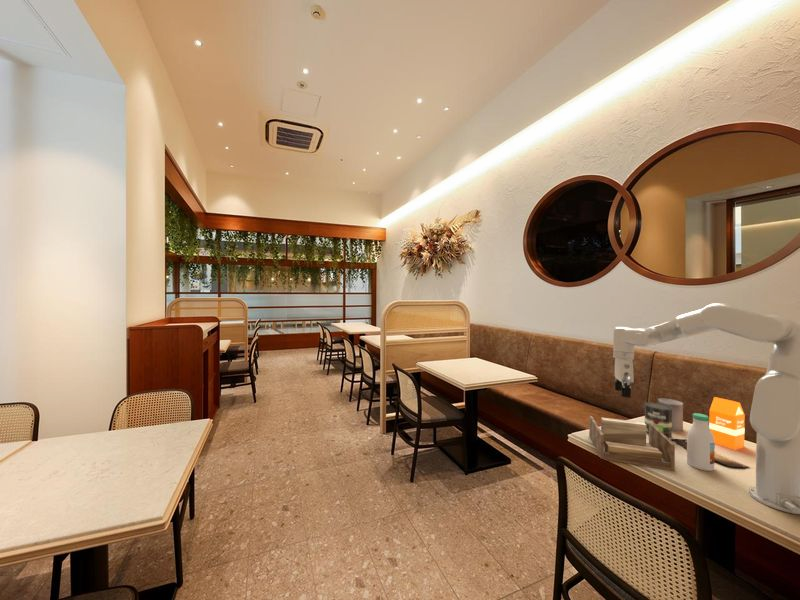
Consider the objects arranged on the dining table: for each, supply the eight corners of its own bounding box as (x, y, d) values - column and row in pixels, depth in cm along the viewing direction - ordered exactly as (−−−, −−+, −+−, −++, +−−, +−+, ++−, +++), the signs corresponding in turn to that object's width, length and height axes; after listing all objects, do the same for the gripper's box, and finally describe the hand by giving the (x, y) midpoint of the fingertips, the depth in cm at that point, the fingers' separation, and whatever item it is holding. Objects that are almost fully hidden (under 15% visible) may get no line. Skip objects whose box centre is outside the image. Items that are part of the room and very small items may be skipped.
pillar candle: (660, 423, 164) (660, 394, 164) (685, 429, 157) (685, 399, 157) (655, 427, 158) (655, 398, 158) (680, 434, 151) (680, 403, 151)
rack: (674, 471, 118) (674, 444, 118) (600, 459, 127) (600, 434, 127) (651, 445, 139) (651, 423, 139) (589, 436, 148) (589, 415, 147)
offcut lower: (661, 463, 122) (661, 458, 122) (607, 455, 128) (607, 450, 128) (656, 457, 126) (656, 452, 126) (604, 450, 133) (604, 445, 133)
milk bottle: (704, 472, 117) (704, 419, 117) (681, 462, 125) (682, 412, 125) (719, 470, 119) (720, 417, 119) (696, 460, 127) (697, 410, 126)
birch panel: (646, 448, 134) (646, 425, 134) (602, 442, 140) (602, 419, 140) (643, 445, 137) (643, 422, 137) (601, 439, 143) (601, 417, 143)
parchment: (752, 468, 120) (752, 466, 120) (730, 469, 119) (730, 467, 119) (684, 440, 145) (684, 438, 145) (666, 441, 143) (666, 439, 143)
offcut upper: (662, 458, 122) (662, 453, 122) (608, 451, 128) (608, 446, 128) (656, 453, 126) (656, 448, 126) (605, 446, 132) (605, 441, 132)
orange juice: (718, 438, 146) (718, 395, 146) (744, 447, 138) (745, 401, 138) (708, 441, 143) (709, 397, 143) (735, 450, 135) (735, 403, 135)
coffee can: (670, 442, 142) (670, 411, 142) (642, 434, 150) (642, 405, 150) (673, 435, 149) (674, 406, 149) (646, 428, 157) (646, 400, 157)
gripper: (640, 359, 129) (639, 400, 129) (627, 352, 145) (626, 389, 145) (619, 357, 132) (618, 398, 132) (608, 351, 148) (607, 387, 148)
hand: (622, 393), depth 139 cm, fingers open, 9 cm apart
